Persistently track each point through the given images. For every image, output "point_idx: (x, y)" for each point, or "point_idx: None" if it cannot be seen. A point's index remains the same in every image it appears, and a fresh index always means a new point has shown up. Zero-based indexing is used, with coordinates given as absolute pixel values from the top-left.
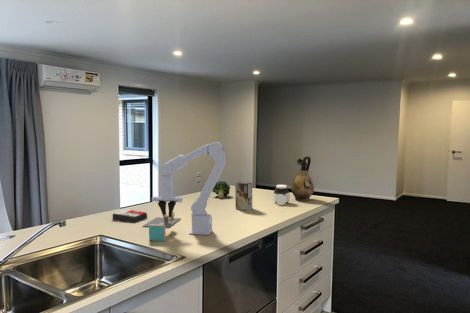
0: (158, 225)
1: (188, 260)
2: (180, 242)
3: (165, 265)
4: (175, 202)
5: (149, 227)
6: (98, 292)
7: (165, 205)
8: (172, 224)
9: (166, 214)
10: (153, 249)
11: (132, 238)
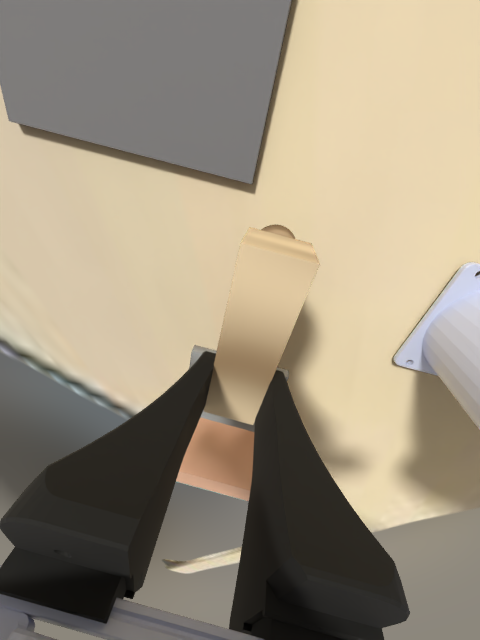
0: (216, 492)
1: None
2: (326, 444)
3: None
4: (376, 618)
5: None
6: (191, 562)
7: (171, 464)
8: (276, 57)
9: (226, 393)
10: None
11: (106, 371)
